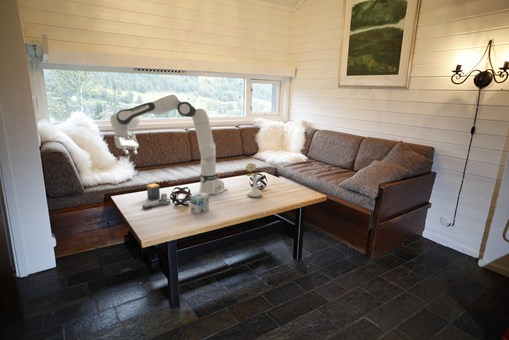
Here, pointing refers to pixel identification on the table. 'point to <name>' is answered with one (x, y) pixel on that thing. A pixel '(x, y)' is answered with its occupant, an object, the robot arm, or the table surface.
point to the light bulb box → (199, 202)
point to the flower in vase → (254, 191)
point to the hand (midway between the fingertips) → (131, 153)
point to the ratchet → (160, 202)
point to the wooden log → (153, 191)
